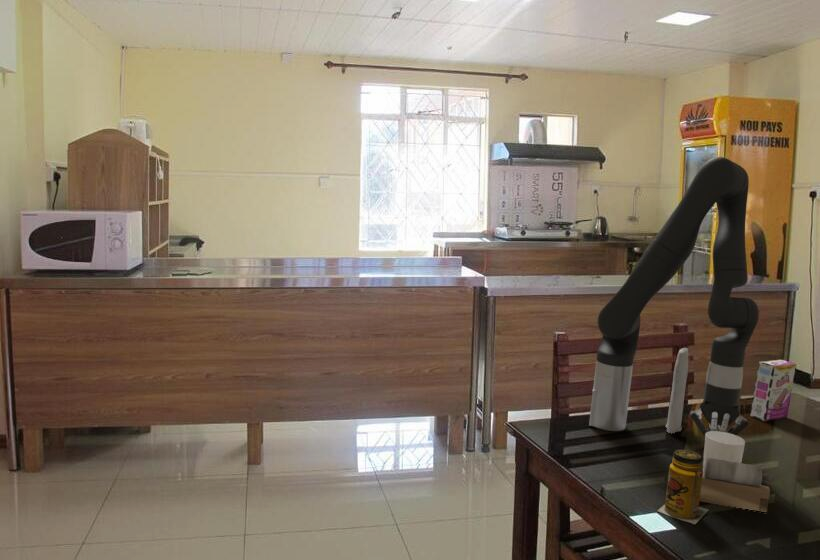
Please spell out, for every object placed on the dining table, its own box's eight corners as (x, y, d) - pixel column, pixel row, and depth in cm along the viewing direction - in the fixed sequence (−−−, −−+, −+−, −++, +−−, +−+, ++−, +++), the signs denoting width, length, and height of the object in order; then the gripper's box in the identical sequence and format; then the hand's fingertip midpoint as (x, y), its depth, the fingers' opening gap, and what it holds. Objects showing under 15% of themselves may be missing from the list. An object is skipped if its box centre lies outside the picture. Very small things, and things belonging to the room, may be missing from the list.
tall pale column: (669, 421, 188) (679, 343, 185) (685, 425, 186) (695, 346, 183) (661, 432, 179) (671, 350, 176) (677, 436, 177) (688, 353, 174)
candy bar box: (765, 422, 194) (774, 366, 192) (749, 416, 198) (757, 361, 196) (788, 417, 200) (797, 363, 197) (772, 412, 204) (780, 358, 202)
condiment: (656, 511, 134) (663, 453, 132) (671, 498, 140) (679, 442, 138) (694, 525, 129) (703, 465, 127) (708, 511, 135) (717, 453, 134)
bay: (683, 468, 156) (688, 430, 155) (752, 480, 152) (758, 441, 151) (691, 502, 139) (697, 459, 138) (770, 516, 135) (776, 473, 134)
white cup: (738, 479, 152) (744, 436, 151) (739, 492, 145) (745, 447, 144) (700, 470, 156) (706, 428, 154) (698, 483, 148) (704, 439, 147)
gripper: (694, 382, 157) (685, 454, 159) (758, 391, 153) (747, 465, 155) (691, 374, 164) (682, 443, 166) (751, 382, 160) (741, 453, 163)
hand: (713, 454), depth 161 cm, fingers closed
